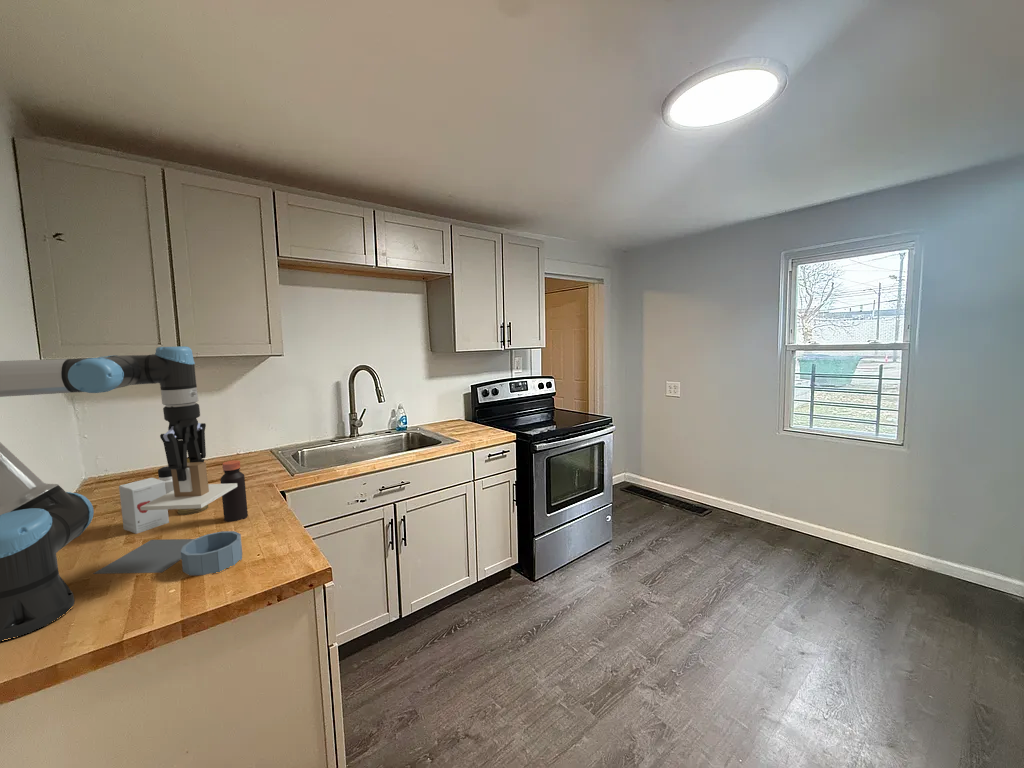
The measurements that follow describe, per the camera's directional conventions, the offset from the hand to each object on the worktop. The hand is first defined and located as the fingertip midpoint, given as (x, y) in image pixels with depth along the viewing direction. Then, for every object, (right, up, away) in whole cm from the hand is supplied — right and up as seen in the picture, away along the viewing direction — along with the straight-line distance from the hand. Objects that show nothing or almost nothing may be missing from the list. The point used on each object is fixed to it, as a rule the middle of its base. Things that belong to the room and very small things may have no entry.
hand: (191, 488), depth 112 cm
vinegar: (-7, -18, +29) cm, 35 cm away
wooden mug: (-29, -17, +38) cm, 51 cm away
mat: (-14, -21, +5) cm, 25 cm away
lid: (0, -2, 0) cm, 3 cm away
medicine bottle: (-47, -16, +49) cm, 69 cm away
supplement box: (-33, -19, +23) cm, 45 cm away
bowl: (+5, -21, +1) cm, 22 cm away
